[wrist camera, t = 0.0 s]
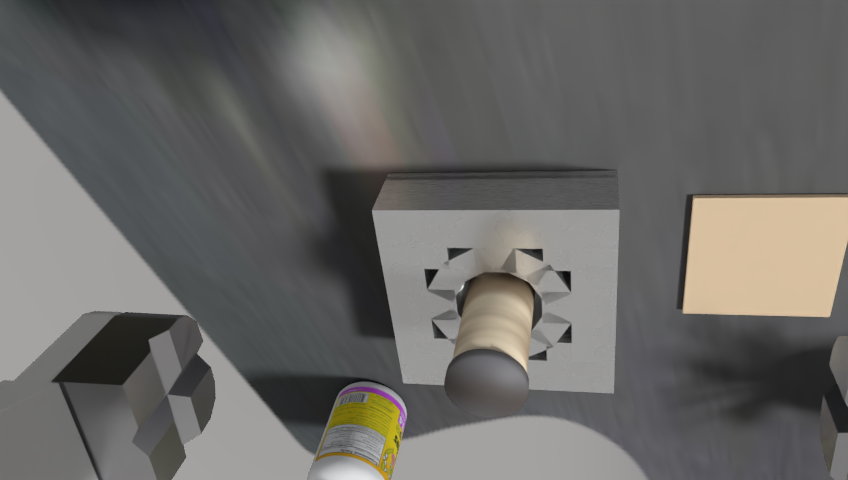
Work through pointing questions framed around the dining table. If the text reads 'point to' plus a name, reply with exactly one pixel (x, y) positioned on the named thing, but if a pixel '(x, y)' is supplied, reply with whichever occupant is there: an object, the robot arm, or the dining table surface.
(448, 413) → the dining table surface
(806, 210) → the cork mat
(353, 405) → the supplement bottle
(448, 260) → the bore housing
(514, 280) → the beige and grey cylinder
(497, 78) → the dining table surface
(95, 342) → the robot arm
